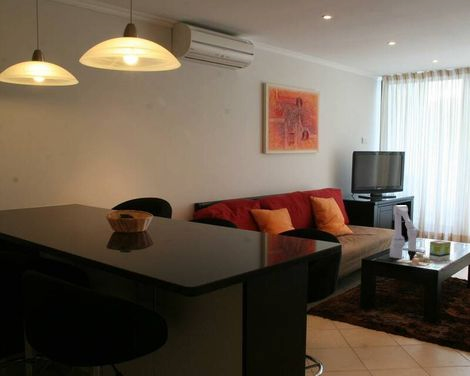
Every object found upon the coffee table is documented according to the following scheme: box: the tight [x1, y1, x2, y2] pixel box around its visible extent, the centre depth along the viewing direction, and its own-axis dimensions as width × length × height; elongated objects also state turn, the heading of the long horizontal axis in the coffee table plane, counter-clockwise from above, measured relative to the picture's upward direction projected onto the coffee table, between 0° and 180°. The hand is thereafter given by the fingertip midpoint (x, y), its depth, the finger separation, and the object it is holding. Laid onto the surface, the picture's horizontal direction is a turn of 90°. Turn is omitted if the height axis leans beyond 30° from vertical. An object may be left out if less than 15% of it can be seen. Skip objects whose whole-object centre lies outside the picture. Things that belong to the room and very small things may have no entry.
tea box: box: [428, 239, 451, 262], centre depth 387 cm, size 15×10×15 cm
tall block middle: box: [415, 252, 424, 262], centre depth 378 cm, size 4×4×6 cm
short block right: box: [423, 256, 431, 264], centre depth 374 cm, size 4×4×4 cm
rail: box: [396, 258, 430, 267], centre depth 371 cm, size 22×8×1 cm, turn 48°
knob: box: [412, 258, 419, 263], centre depth 369 cm, size 4×4×3 cm
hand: (411, 260), depth 371 cm, fingers closed
